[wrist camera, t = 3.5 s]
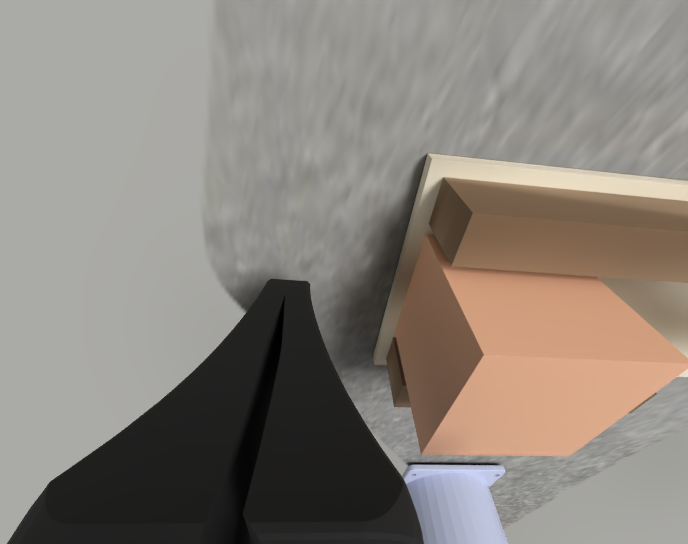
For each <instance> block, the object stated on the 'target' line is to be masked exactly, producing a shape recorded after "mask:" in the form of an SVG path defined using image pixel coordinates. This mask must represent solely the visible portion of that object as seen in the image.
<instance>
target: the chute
mask: <svg viewBox="0 0 688 544" xmlns="http://www.w3.org/2000/svg"><path fill="white" fill-rule="evenodd" d="M429 225H430V227H431V229H432V231H433V233H434V235H435V237H436V239H437V240H438V242H439V244H440V246H441V248H442V250H443V252H444V254H445V256H446V257H447V259H448V261H449V263H450V265H451V266H453V267H467V268H481V269H495V270H509V271H523V272H538V273H552V274H566V275H580V276H594V277H608V278H622V279H636V280H650V281H664V282H678V283H688V201H681V200H671V199H661V198H651V197H641V196H631V195H620V194H610V193H600V192H590V191H580V190H570V189H560V188H550V187H540V186H530V185H520V184H509V183H499V182H489V181H479V180H469V179H459V178H449V177H443V180H442V183H441V186H440V189H439V193H438V196H437V199H436V202H435V205H434V208H433V212H432V215H431V218H430V221H429ZM386 362H387V368H388V373H389V379H390V385H391V391H392V397H393V403H394V407H411V404H410V400H409V395H408V391H407V386H406V381H405V377H404V372H403V367H402V363H401V358H400V353H399V349H398V344H397V340H396V338H395V337H393V339H392V342H391V345H390V348H389V351H388V354H387V358H386ZM655 395H656V393H654V394H653V395H652V396H650V397H649V398H647V399H646V400H645V401H643V402H642V403H641V404H639V405H638V406H637V407H635V408H634V409H633V410H631V411H630V412H629V413H632V412H633V411H634V410H636V409H637V408H638V407H640V406H641V405H642V404H644V403H645V402H647V401H648V400H649V399H651V398H652V397H653V396H655Z"/></svg>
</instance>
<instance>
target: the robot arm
mask: <svg viewBox="0 0 688 544" xmlns="http://www.w3.org/2000/svg"><path fill="white" fill-rule="evenodd" d="M504 473H505V469H504V467H503V466H501V465H410V466H408V467H407V469H406V471H405V472H404V474H403V476H401V475H400V473H399V472H398V471H397V469H396V468H395V467H394V465H393V464H392V462H391V461H390V460H389V458H388V457H387V456H386V454H385V452H384V451H383V450H382V448H381V447H380V445H379V444H378V442H377V441H376V439H375V438H374V436H373V435H372V433H371V432H370V430H369V429H368V427H367V425H366V424H365V422H364V421H363V419H362V417H361V415H360V414H359V412H358V410H357V409H356V407H355V405H354V404H353V402H352V400H351V399H350V397H349V395H348V393H347V391H346V390H345V388H344V386H343V384H342V382H341V380H340V378H339V376H338V374H337V372H336V370H335V368H334V366H333V363H332V361H331V359H330V357H329V354H328V352H327V349H326V347H325V344H324V342H323V339H322V336H321V334H320V331H319V327H318V324H317V321H316V318H315V314H314V310H313V306H312V301H311V295H310V284H309V283H308V282H307V281H295V280H279V279H270V280H269V281H268V282H267V283H266V285H265V287H264V288H263V290H262V292H261V293H260V295H259V296H258V298H257V299H256V300H255V302H254V303H253V305H252V306H251V307H250V309H249V310H248V311H247V313H246V314H245V315H244V316H243V318H242V319H241V320H240V322H239V323H238V324H237V325H236V327H235V328H234V329H233V330H232V331H231V333H229V335H228V336H227V337H226V338H225V339H224V340H223V341H222V343H221V344H220V345H219V346H218V347H217V348H216V349H215V350H214V351H213V352H212V353H211V354H210V356H208V357H207V359H205V361H204V362H203V363H201V364H200V365H199V366H198V367H197V368H196V369H195V370H194V371H193V372H192V373H191V374H190V375H189V376H188V377H187V378H185V380H183V381H182V382H181V383H180V384H179V385H178V386H177V387H176V388H174V389H173V390H172V391H171V392H170V393H169V394H167V395H166V396H165V397H164V398H163V399H162V400H161V401H159V402H158V403H157V404H155V405H154V406H153V407H152V408H150V409H149V410H148V411H147V412H145V413H144V414H143V415H141V416H140V417H139V418H138V419H136V420H135V421H134V422H133V423H131V424H130V425H129V426H128V427H126V428H125V429H124V430H122V431H121V432H120V433H118V434H117V435H116V436H115V437H113V438H112V439H110V440H109V441H108V442H106V443H105V444H103V445H102V446H100V447H99V448H98V449H96V450H95V451H93V452H92V453H91V454H89V455H88V456H86V457H85V458H83V459H82V460H81V461H79V462H78V463H76V464H75V465H73V466H72V467H71V468H69V469H68V470H66V471H65V472H63V473H62V474H61V475H59V476H58V477H56V478H55V479H53V480H52V481H51V482H50V483H49V484H48V485H47V487H46V488H45V490H44V491H43V492H42V494H41V495H40V496H39V497H38V499H37V500H36V501H35V503H34V504H33V505H32V506H31V508H30V509H29V511H28V512H27V514H26V515H25V517H24V518H23V520H22V521H21V523H20V524H19V526H18V527H17V529H16V531H15V532H14V534H13V535H12V537H11V538H10V540H9V541H8V543H7V544H508V542H507V539H506V536H505V533H504V530H503V528H502V525H501V522H500V519H499V516H498V513H497V510H496V508H495V505H494V502H493V499H492V496H491V493H490V490H489V488H488V487H489V486H491V485H492V484H493V483H494V482H495V481H496V480H497V479H498V478H500V477H501V476H502V475H503V474H504Z"/></svg>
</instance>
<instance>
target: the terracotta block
mask: <svg viewBox="0 0 688 544" xmlns="http://www.w3.org/2000/svg"><path fill="white" fill-rule="evenodd" d="M395 335H396V340H397V344H398V349H399V353H400V358H401V363H402V367H403V372H404V377H405V381H406V386H407V391H408V395H409V400H410V404H411V409H412V414H413V418H414V423H415V428H416V432H417V437H418V441H419V446H420V451H421V454H427V455H514V456H570V455H572V454H573V453H574V452H576V451H577V450H578V449H580V448H581V447H582V446H584V445H585V444H587V443H588V442H589V441H591V440H592V439H593V438H595V437H596V436H597V435H599V434H600V433H601V432H603V431H604V430H606V429H607V428H608V427H610V426H611V425H612V424H614V423H615V422H616V421H618V420H619V419H620V418H622V417H623V416H624V415H626V414H627V413H629V412H630V411H631V410H633V409H634V408H635V407H637V406H638V405H639V404H641V403H642V402H643V401H645V400H646V399H647V398H649V397H650V396H652V395H653V394H654V393H656V392H657V391H658V390H660V389H661V388H662V387H664V386H665V385H666V384H668V383H669V382H670V381H672V380H673V379H675V378H676V377H677V376H679V375H680V374H681V373H683V372H684V371H685V370H687V369H688V358H687V357H686V356H685V355H683V354H682V353H681V352H680V351H679V350H678V349H677V348H676V347H674V346H673V345H672V344H671V343H670V342H669V341H668V340H667V339H665V338H664V337H663V336H662V335H661V334H660V333H659V332H658V331H656V330H655V329H654V328H653V327H652V326H651V325H650V324H649V323H648V322H646V321H645V320H644V319H643V318H642V317H641V316H640V315H639V314H637V313H636V312H635V311H634V310H633V309H632V308H631V307H630V306H628V305H627V304H626V303H625V302H624V301H623V300H622V299H621V298H619V297H618V296H617V295H616V294H615V293H614V292H613V291H612V290H610V289H609V288H608V287H607V286H606V285H605V284H604V283H603V282H601V281H600V280H599V279H598V278H597V277H594V276H580V275H566V274H552V273H538V272H523V271H509V270H495V269H481V268H467V267H453V266H451V265H450V263H449V261H448V259H447V257H446V256H445V254H444V252H443V250H442V248H441V246H440V244H439V242H438V240H437V239H436V237H435V235H430V234H425V237H424V240H423V243H422V247H421V250H420V253H419V256H418V259H417V262H416V266H415V269H414V272H413V275H412V278H411V281H410V285H409V288H408V291H407V294H406V297H405V301H404V304H403V307H402V310H401V313H400V316H399V320H398V323H397V326H396V329H395Z"/></svg>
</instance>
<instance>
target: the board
mask: <svg viewBox="0 0 688 544" xmlns="http://www.w3.org/2000/svg"><path fill="white" fill-rule="evenodd" d="M443 177H449V178H459V179H469V180H479V181H489V182H499V183H509V184H520V185H530V186H540V187H550V188H560V189H570V190H580V191H590V192H600V193H610V194H620V195H631V196H641V197H651V198H661V199H671V200H681V201H688V181H684V180H674V179H665V178H655V177H646V176H636V175H627V174H617V173H608V172H599V171H589V170H580V169H570V168H561V167H551V166H542V165H533V164H523V163H514V162H504V161H495V160H485V159H476V158H467V157H457V156H448V155H438V154H429V153H428V155H427V158H426V162H425V166H424V170H423V173H422V177H421V181H420V184H419V188H418V192H417V195H416V199H415V203H414V207H413V210H412V214H411V218H410V221H409V225H408V229H407V233H406V236H405V240H404V244H403V247H402V251H401V255H400V258H399V262H398V266H397V270H396V273H395V277H394V281H393V284H392V288H391V292H390V296H389V299H388V303H387V307H386V310H385V314H384V318H383V321H382V325H381V329H380V333H379V336H378V340H377V344H376V347H375V351H374V355H373V360H374V365H387V362H386V358H387V354H388V351H389V348H390V345H391V342H392V339H393V337H395V338H396V335H395V329H396V326H397V323H398V320H399V316H400V313H401V310H402V307H403V304H404V301H405V297H406V294H407V291H408V288H409V285H410V281H411V278H412V275H413V272H414V269H415V266H416V262H417V259H418V256H419V253H420V250H421V247H422V243H423V240H424V237H425V234H430V235H434V233H433V231H432V229H431V227H430V225H429V221H430V218H431V215H432V212H433V208H434V205H435V202H436V199H437V196H438V193H439V189H440V186H441V183H442V180H443ZM597 278H598V279H599V280H600V281H601V282H603V283H604V284H605V285H606V286H607V287H608V288H609V289H610V290H612V291H613V292H614V293H615V294H616V295H617V296H618V297H619V298H621V299H622V300H623V301H624V302H625V303H626V304H627V305H628V306H630V307H631V308H632V309H633V310H634V311H635V312H636V313H637V314H639V315H640V316H641V317H642V318H643V319H644V320H645V321H646V322H648V323H649V324H650V325H651V326H652V327H653V328H654V329H655V330H656V331H658V332H659V333H660V334H661V335H662V336H663V337H664V338H665V339H667V340H668V341H669V342H670V343H671V344H672V345H673V346H674V347H676V348H677V349H678V350H679V351H680V352H681V353H682V354H683V355H685V356H686V357H687V358H688V283H678V282H664V281H650V280H636V279H622V278H608V277H597ZM677 377H688V369H687V370H685V371H684V372H683V373H681V374H680V375H679V376H677Z"/></svg>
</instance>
